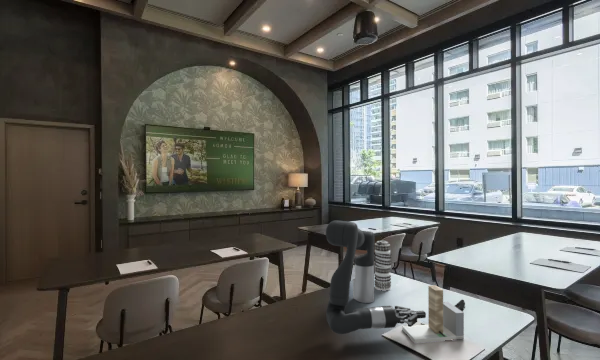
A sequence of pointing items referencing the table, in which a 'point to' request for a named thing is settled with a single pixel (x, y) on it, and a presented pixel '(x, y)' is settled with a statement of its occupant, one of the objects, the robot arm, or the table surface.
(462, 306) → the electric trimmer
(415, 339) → the base
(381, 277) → the decorative candle
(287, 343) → the table surface
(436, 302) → the tan rectangular box
